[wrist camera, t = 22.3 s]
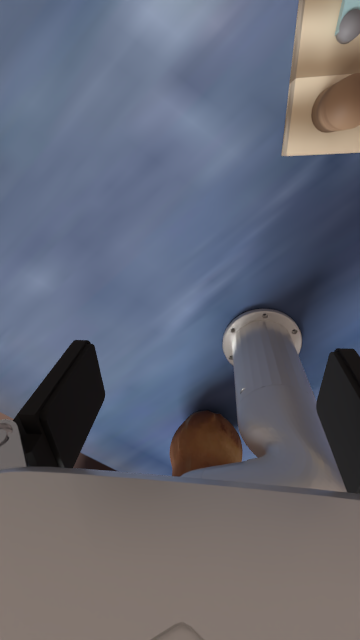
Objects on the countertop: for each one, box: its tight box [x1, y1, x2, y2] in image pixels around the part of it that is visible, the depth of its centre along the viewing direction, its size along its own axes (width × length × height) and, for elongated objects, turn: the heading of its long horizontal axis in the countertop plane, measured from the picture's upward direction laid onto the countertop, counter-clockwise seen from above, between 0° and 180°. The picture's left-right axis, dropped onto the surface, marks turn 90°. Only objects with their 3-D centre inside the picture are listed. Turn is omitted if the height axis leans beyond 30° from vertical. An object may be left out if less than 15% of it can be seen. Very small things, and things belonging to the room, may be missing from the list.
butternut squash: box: [170, 410, 242, 477], centre depth 49 cm, size 14×13×25 cm
